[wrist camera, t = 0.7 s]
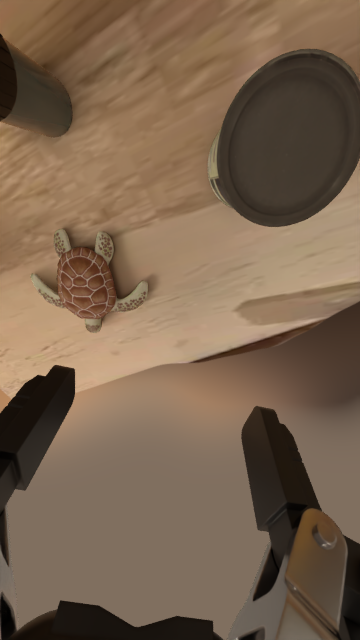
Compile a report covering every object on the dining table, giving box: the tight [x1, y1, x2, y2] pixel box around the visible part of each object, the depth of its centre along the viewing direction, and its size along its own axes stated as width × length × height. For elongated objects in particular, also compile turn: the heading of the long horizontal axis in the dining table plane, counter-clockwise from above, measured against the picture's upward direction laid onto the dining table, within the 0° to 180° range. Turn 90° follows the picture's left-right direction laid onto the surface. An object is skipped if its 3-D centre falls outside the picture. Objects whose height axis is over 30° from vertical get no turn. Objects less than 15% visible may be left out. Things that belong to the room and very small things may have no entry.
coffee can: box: [208, 49, 360, 227], centre depth 23 cm, size 10×10×14 cm
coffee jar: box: [0, 38, 72, 137], centre depth 22 cm, size 6×6×14 cm
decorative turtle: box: [31, 229, 148, 333], centre depth 36 cm, size 18×17×5 cm
